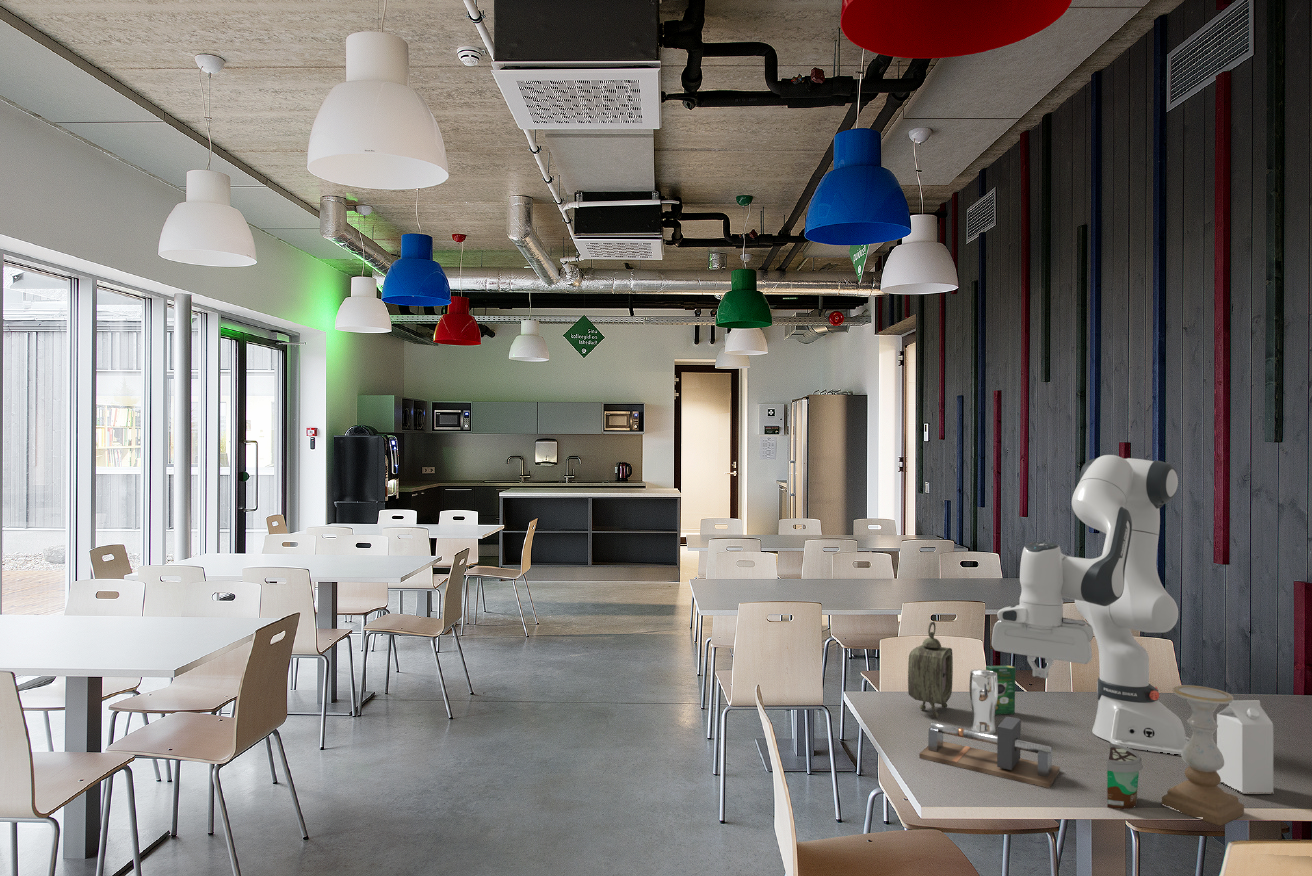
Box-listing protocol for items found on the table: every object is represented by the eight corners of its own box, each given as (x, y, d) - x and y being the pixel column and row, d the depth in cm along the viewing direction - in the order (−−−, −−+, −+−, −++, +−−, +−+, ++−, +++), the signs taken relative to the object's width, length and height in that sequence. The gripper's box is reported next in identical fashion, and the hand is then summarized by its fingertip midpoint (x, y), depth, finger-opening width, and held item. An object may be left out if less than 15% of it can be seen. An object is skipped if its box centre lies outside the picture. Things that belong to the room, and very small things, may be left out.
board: (1059, 771, 182) (1059, 766, 182) (1049, 788, 173) (1049, 783, 173) (934, 743, 199) (935, 739, 199) (919, 757, 189) (919, 753, 189)
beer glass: (1000, 736, 205) (1000, 677, 205) (971, 733, 207) (972, 675, 207) (994, 727, 212) (995, 670, 212) (966, 725, 213) (967, 668, 214)
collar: (1020, 758, 186) (1020, 719, 186) (1011, 770, 179) (1011, 729, 179) (1006, 755, 188) (1006, 716, 188) (997, 767, 180) (997, 726, 181)
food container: (1142, 817, 159) (1142, 767, 159) (1106, 810, 162) (1107, 760, 163) (1143, 796, 170) (1143, 748, 170) (1109, 789, 173) (1110, 742, 173)
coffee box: (1009, 711, 226) (1009, 664, 226) (1016, 714, 223) (1016, 666, 224) (984, 712, 224) (984, 665, 225) (990, 715, 222) (990, 668, 222)
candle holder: (1186, 794, 171) (1186, 681, 171) (1245, 814, 162) (1245, 695, 162) (1160, 805, 165) (1160, 688, 165) (1220, 827, 156) (1220, 703, 156)
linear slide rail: (1051, 770, 180) (1052, 743, 180) (1047, 777, 176) (1047, 750, 176) (934, 744, 195) (934, 719, 196) (928, 750, 191) (928, 725, 192)
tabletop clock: (940, 721, 216) (941, 628, 216) (906, 715, 221) (907, 624, 221) (952, 707, 228) (953, 619, 229) (919, 702, 233) (920, 615, 233)
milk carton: (1216, 782, 178) (1216, 696, 178) (1246, 781, 178) (1246, 695, 179) (1242, 795, 171) (1242, 705, 171) (1273, 795, 171) (1273, 705, 172)
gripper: (1095, 619, 176) (1094, 682, 176) (996, 607, 189) (996, 666, 188) (1090, 623, 171) (1090, 688, 171) (990, 611, 183) (989, 672, 183)
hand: (1040, 677), depth 180 cm, fingers closed
